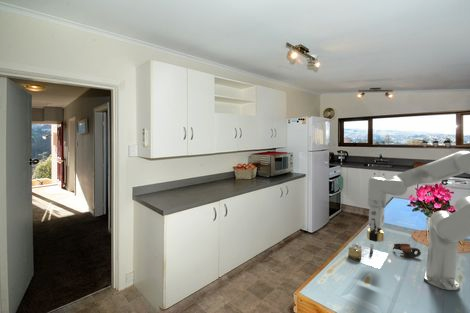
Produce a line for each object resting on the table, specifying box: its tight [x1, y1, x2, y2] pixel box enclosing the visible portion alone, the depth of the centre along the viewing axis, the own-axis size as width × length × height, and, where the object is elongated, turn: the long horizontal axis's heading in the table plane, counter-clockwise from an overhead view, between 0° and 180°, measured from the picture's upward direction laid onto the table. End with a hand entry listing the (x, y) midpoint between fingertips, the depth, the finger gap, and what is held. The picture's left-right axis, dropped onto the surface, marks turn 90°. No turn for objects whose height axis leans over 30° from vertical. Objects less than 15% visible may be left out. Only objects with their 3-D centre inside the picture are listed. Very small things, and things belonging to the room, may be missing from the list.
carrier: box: [344, 242, 389, 270], centre depth 124 cm, size 20×16×6 cm
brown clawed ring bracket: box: [392, 243, 422, 259], centre depth 126 cm, size 12×10×8 cm
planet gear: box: [366, 227, 385, 243], centre depth 116 cm, size 7×7×4 cm
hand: (375, 237), depth 116 cm, fingers closed on planet gear, 7 cm apart
